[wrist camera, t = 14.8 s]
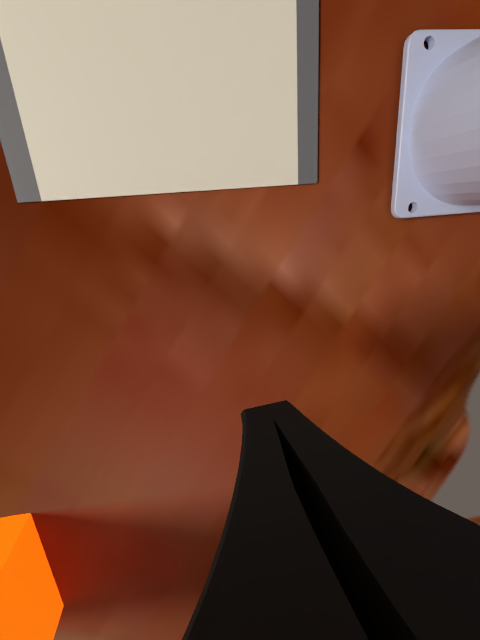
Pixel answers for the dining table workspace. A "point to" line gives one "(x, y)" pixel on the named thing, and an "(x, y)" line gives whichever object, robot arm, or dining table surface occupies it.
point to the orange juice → (26, 583)
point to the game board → (157, 95)
